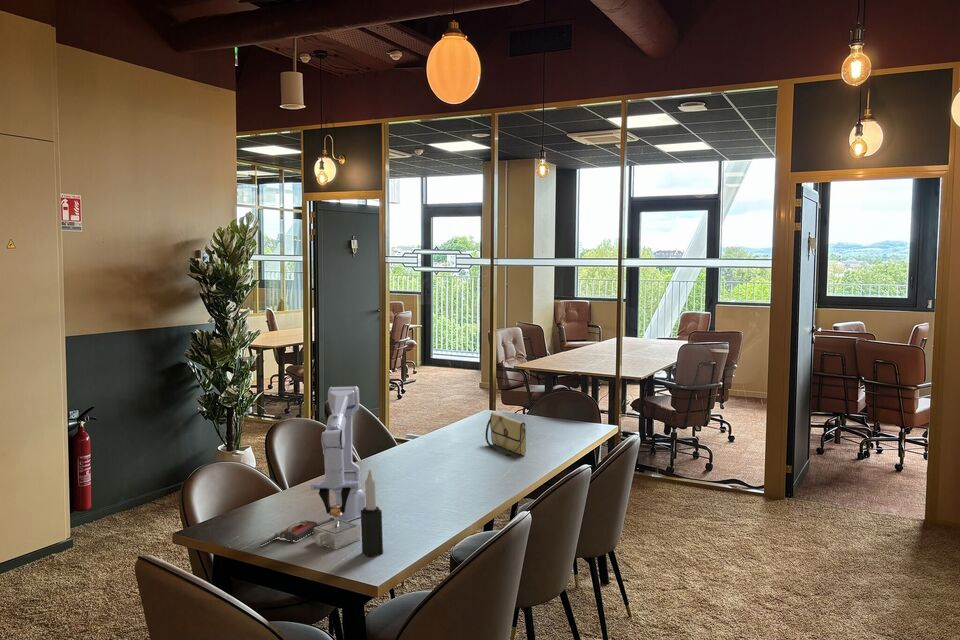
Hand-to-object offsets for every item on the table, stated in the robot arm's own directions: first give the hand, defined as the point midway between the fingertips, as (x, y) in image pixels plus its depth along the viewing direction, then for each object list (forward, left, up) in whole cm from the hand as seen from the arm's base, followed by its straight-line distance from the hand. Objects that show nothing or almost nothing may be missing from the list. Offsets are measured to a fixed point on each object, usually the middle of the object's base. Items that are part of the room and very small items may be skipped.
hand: (336, 512), depth 226 cm
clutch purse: (-116, -24, -9) cm, 119 cm away
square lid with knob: (0, 0, -6) cm, 6 cm away
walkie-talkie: (+7, -14, -10) cm, 18 cm away
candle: (0, +16, -9) cm, 19 cm away
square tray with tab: (0, 0, -9) cm, 9 cm away
